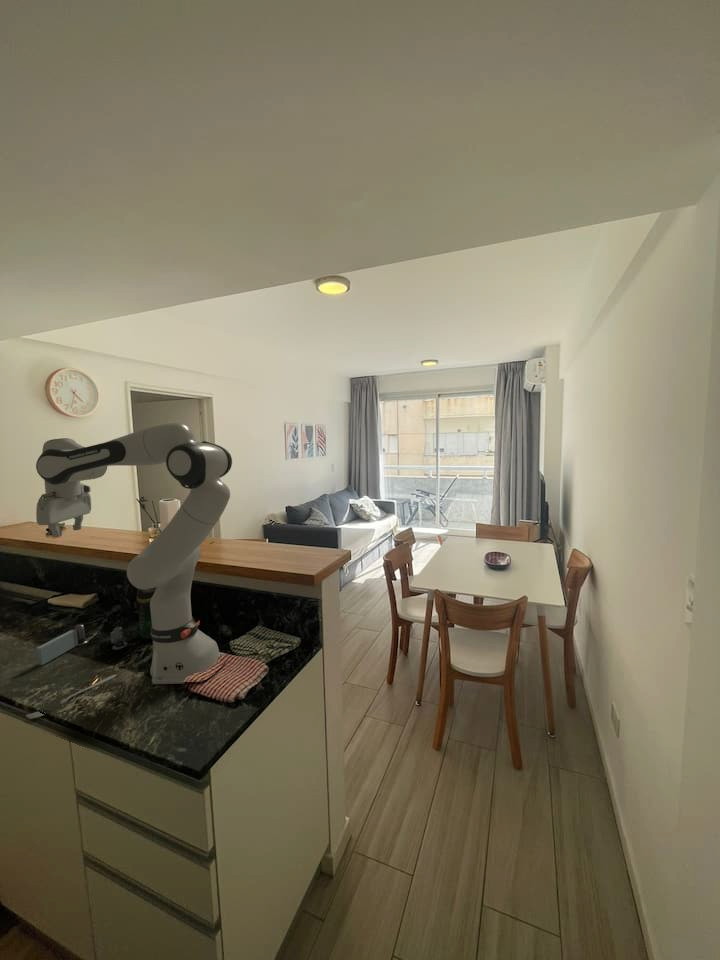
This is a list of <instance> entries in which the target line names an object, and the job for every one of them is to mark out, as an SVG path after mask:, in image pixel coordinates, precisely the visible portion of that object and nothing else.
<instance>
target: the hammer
mask: <svg viewBox="0 0 720 960" xmlns="http://www.w3.org/2000/svg"><path fill="white" fill-rule="evenodd" d="M109 633H110V641H111V642H110V644H111V645H113V646H112V648H111V649H112V650H113V651H119V650H122V649H125V648H126V647H127V646H128V642H125V639H124V630H123V627H122V626H118V627H117V626H116V627H115V628H113V630H112V631H111V632H109Z"/></svg>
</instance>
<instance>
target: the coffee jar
mask: <svg viewBox="0 0 720 960" xmlns="http://www.w3.org/2000/svg"><path fill="white" fill-rule="evenodd" d="M156 588H157V587H154V588H150V589H146V590H142V589H138V588H136V589H137V590H136V600H137V602H138V603H139V604H138V605H139V636H140V637H141V638H142V639H146V640H149V639H151V625H152V620H151V610H150V601H151V598H152V596H153V594H154V593H155V591H156Z"/></svg>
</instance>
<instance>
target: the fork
mask: <svg viewBox="0 0 720 960" xmlns="http://www.w3.org/2000/svg"><path fill="white" fill-rule="evenodd" d="M116 676H118V674H117V673H116V674H112V675H110V676H108V677H106V678H104V679H102V680H100V681H98V682H97V683H93V684H92V685H89V686H88V687H86V688H84V689H81V690H79V691H77V692H75V693H73V694H71V695H69V696H68V697H67V698H65V699H64V700H62V701H61V702H66V703H67V702H68V701H69V700H70V699H71V698H72V697H74V696H76V695H79V694H81V693H83V692H86V691H87V690H90V689H92V688H95V687H97V686H99V685H102V684H104V683H106V682H108V681H109V680H112V679H113V678H115V677H116ZM43 716H45V715H44V714H42V713H40V712H39V711H36V712H32V713H29V714H26V715H25V717H26V718H28V720H31V719H36V718H39V717H43Z"/></svg>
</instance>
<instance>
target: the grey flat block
mask: <svg viewBox="0 0 720 960" xmlns="http://www.w3.org/2000/svg"><path fill="white" fill-rule="evenodd" d="M77 645H78V638H77V630H76V629H70V630H68V631H67V632H65V633H63V634H61V635H58V636H56V637H55V638H52V639H50V640H49V641H47V642H45V643H43V644H41V645H39V646H37V647H36V648H35V649H36V657H37V665H38V666H39V665H40V666H43V665H45V664H47V663H48V662H49V663H50V662H51V661H52V660H54V659H55V658H58V657H59V656H61V655H63V654H64V653H67V652H68V651H70V650H72V649H73V648H76V647H78V646H77Z"/></svg>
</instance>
